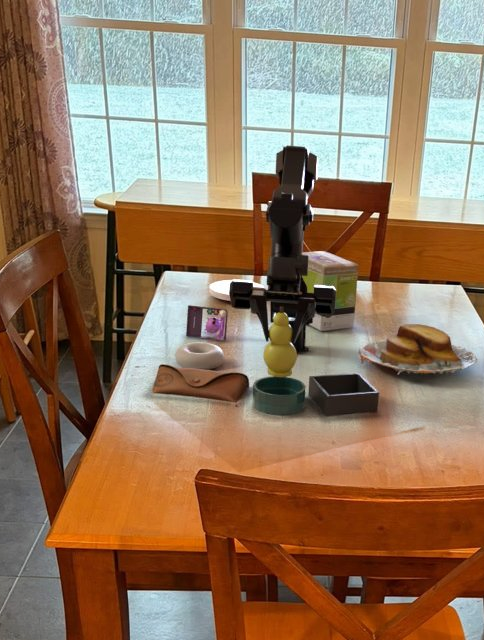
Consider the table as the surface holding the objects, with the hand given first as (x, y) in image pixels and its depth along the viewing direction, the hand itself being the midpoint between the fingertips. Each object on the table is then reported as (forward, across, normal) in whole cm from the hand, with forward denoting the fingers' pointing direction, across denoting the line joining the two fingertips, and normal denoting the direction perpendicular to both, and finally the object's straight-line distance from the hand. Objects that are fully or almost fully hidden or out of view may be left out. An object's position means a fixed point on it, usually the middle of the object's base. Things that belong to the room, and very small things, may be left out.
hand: (280, 341), depth 145 cm
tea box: (-30, +6, +50) cm, 59 cm away
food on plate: (-12, +28, +31) cm, 43 cm away
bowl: (+8, 0, +10) cm, 13 cm away
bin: (+6, +12, +12) cm, 18 cm away
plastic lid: (-41, -16, +60) cm, 75 cm away
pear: (+4, 0, +5) cm, 6 cm away
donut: (-6, -18, +25) cm, 31 cm away
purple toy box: (-19, -18, +38) cm, 46 cm away
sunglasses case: (+5, -16, +14) cm, 21 cm away
